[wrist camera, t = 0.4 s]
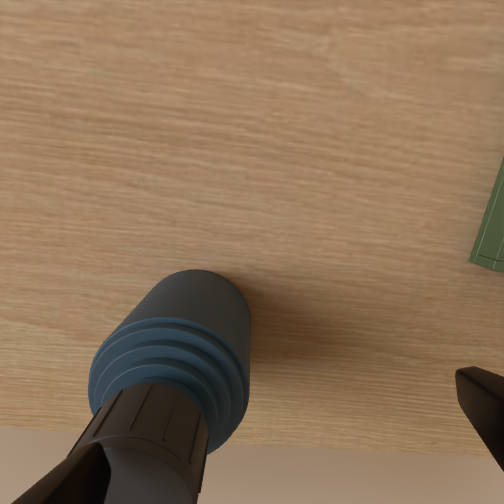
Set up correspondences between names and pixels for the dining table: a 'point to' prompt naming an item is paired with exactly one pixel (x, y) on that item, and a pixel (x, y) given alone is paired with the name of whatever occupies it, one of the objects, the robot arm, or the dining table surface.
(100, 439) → the flask cap
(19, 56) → the dining table surface
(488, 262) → the tray
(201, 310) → the flask
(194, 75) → the dining table surface
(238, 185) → the dining table surface
